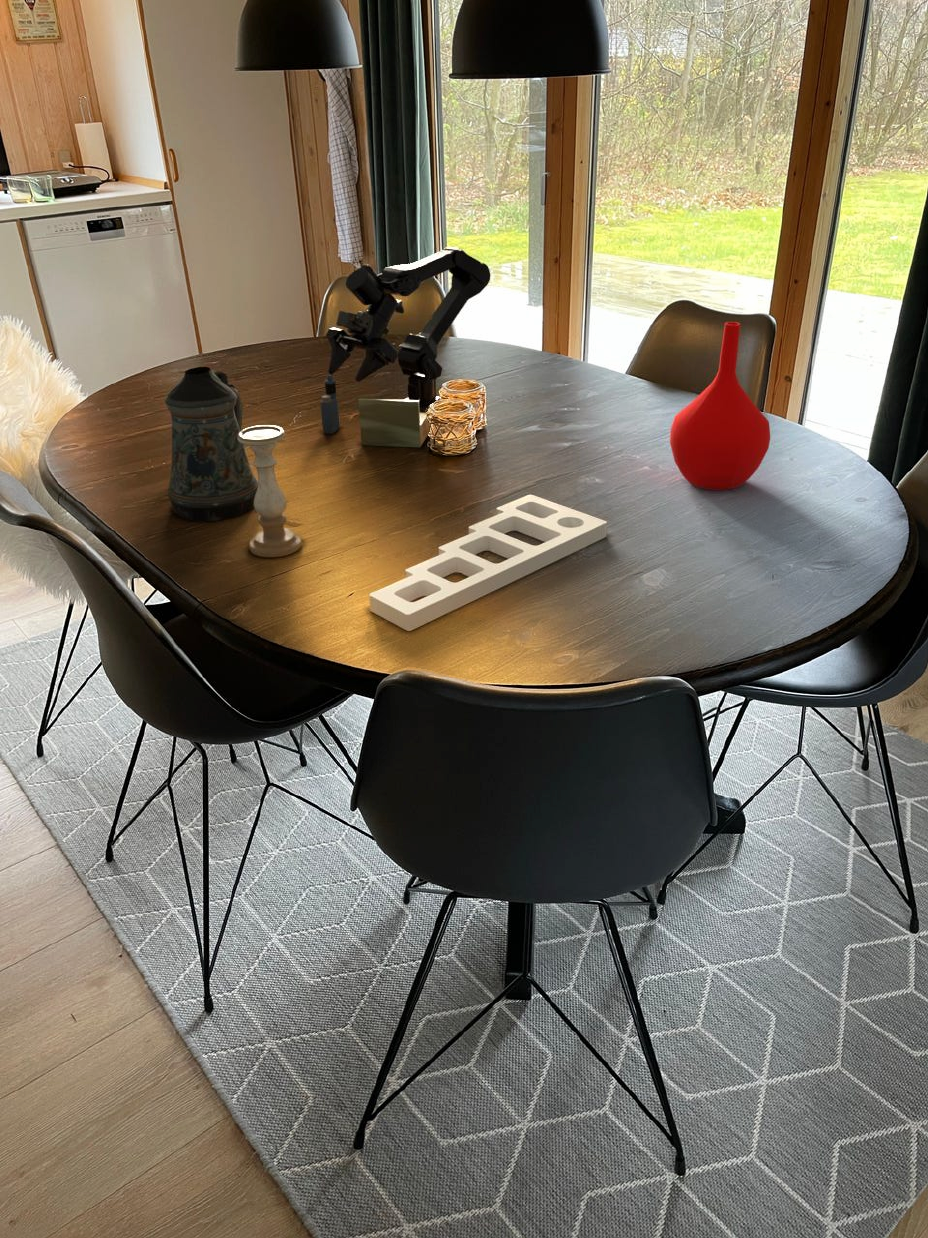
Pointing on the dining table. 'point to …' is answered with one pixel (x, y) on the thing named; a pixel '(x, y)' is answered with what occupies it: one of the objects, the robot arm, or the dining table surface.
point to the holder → (525, 515)
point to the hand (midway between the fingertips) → (343, 377)
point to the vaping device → (330, 407)
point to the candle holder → (268, 495)
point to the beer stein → (208, 449)
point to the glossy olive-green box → (392, 423)
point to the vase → (720, 428)
